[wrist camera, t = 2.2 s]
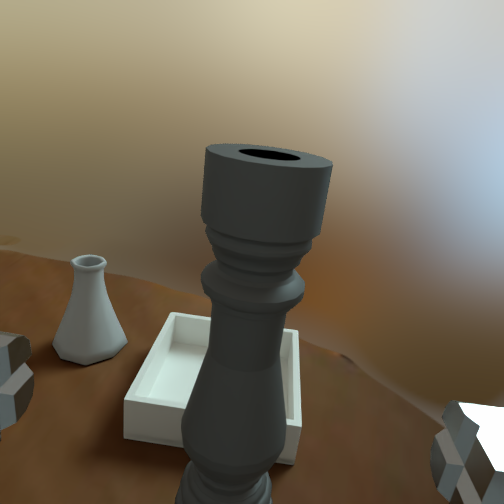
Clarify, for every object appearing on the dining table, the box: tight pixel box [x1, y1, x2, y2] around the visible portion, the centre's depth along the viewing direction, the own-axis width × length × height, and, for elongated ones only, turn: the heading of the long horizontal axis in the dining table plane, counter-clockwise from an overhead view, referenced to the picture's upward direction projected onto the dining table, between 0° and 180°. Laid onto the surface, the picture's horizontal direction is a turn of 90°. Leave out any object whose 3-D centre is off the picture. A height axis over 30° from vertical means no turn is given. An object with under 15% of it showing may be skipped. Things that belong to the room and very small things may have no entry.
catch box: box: [124, 312, 302, 465], centre depth 39 cm, size 14×14×4 cm
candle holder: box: [175, 144, 333, 504], centre depth 23 cm, size 6×6×25 cm
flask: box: [52, 254, 127, 365], centre depth 43 cm, size 7×7×10 cm
